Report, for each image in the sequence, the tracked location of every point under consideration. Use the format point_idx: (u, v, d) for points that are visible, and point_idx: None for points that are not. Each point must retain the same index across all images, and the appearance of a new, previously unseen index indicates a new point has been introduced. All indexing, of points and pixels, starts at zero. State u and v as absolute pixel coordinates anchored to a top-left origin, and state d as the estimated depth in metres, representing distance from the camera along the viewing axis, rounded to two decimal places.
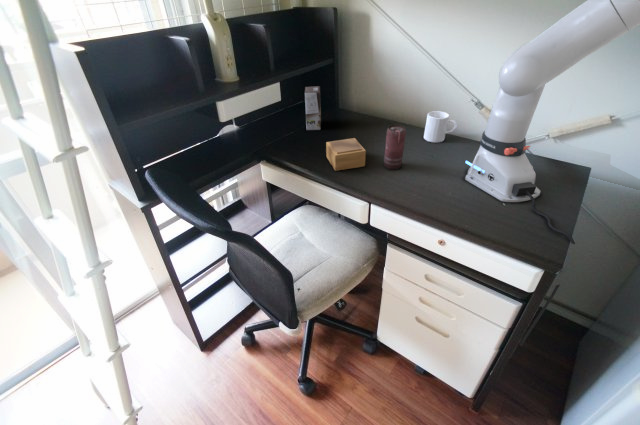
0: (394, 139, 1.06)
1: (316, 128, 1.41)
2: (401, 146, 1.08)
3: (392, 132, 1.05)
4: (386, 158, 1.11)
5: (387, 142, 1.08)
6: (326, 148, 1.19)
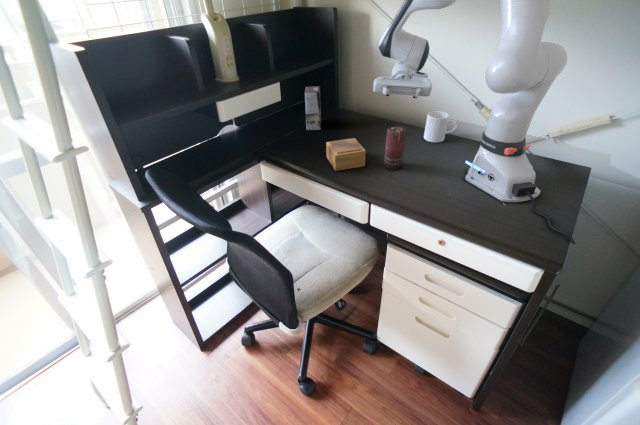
0: (394, 139, 1.06)
1: (316, 128, 1.41)
2: (401, 146, 1.08)
3: (392, 132, 1.05)
4: (386, 158, 1.11)
5: (387, 142, 1.08)
6: (326, 148, 1.19)
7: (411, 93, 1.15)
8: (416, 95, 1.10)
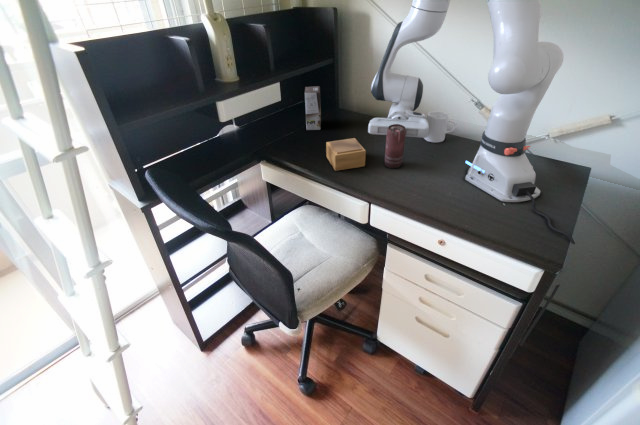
0: (394, 139, 1.06)
1: (316, 128, 1.41)
2: (401, 145, 1.08)
3: (392, 132, 1.05)
4: (386, 157, 1.12)
5: (387, 142, 1.08)
6: (326, 148, 1.19)
7: (407, 134, 1.11)
8: None
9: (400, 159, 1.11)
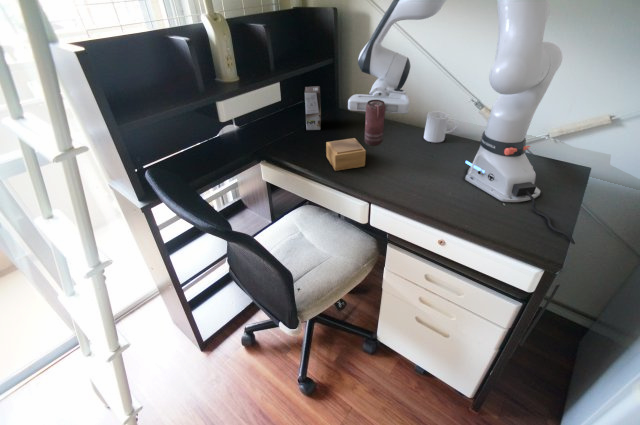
0: (373, 114, 1.03)
1: (316, 128, 1.41)
2: (381, 121, 1.05)
3: (371, 107, 1.02)
4: (366, 134, 1.09)
5: (366, 117, 1.06)
6: (326, 148, 1.19)
7: (388, 111, 1.08)
8: None
9: (380, 136, 1.09)
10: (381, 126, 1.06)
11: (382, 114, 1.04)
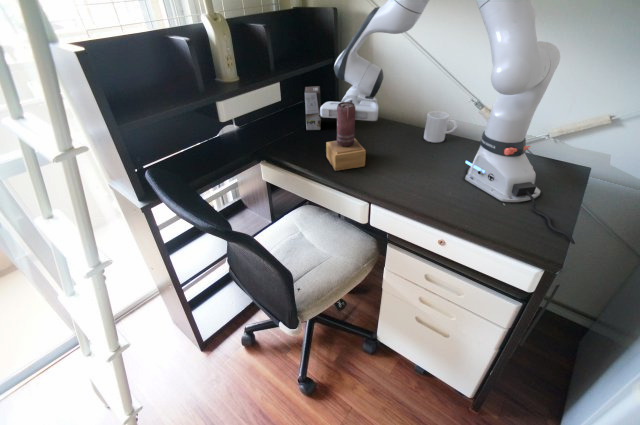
0: (343, 115, 1.06)
1: (316, 128, 1.41)
2: (351, 122, 1.08)
3: (341, 108, 1.06)
4: (338, 135, 1.12)
5: (337, 119, 1.09)
6: (326, 148, 1.19)
7: (358, 118, 1.12)
8: None
9: (351, 137, 1.12)
10: (352, 127, 1.10)
11: (352, 115, 1.07)
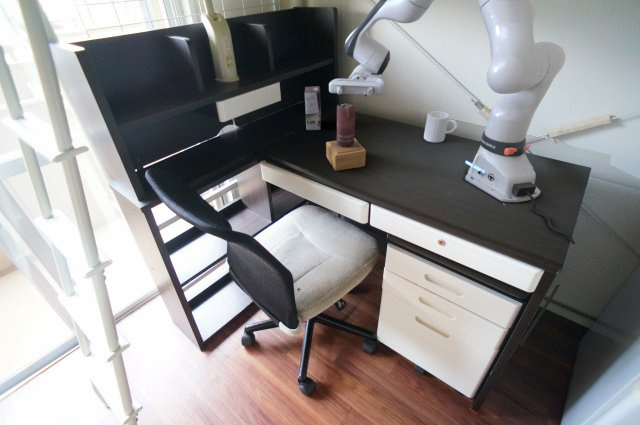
0: (343, 115, 1.06)
1: (316, 128, 1.41)
2: (351, 122, 1.08)
3: (341, 108, 1.06)
4: (338, 135, 1.12)
5: (337, 119, 1.09)
6: (326, 148, 1.19)
7: None
8: (367, 93, 1.14)
9: (351, 137, 1.12)
10: (352, 127, 1.10)
11: (352, 115, 1.07)
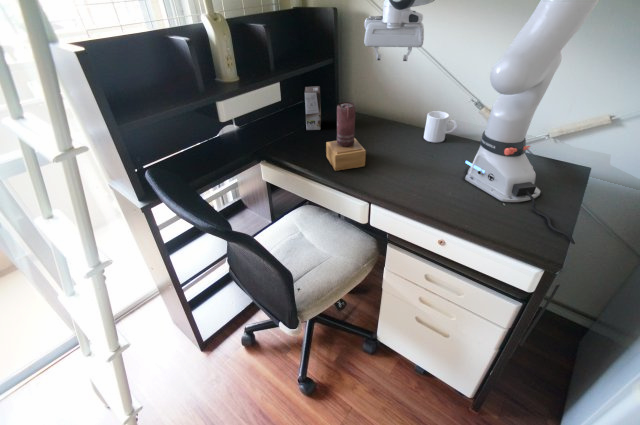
0: (343, 115, 1.06)
1: (316, 128, 1.41)
2: (351, 122, 1.08)
3: (341, 108, 1.06)
4: (338, 135, 1.12)
5: (337, 119, 1.09)
6: (326, 148, 1.19)
7: None
8: None
9: (351, 137, 1.12)
10: (352, 127, 1.10)
11: (352, 115, 1.07)
